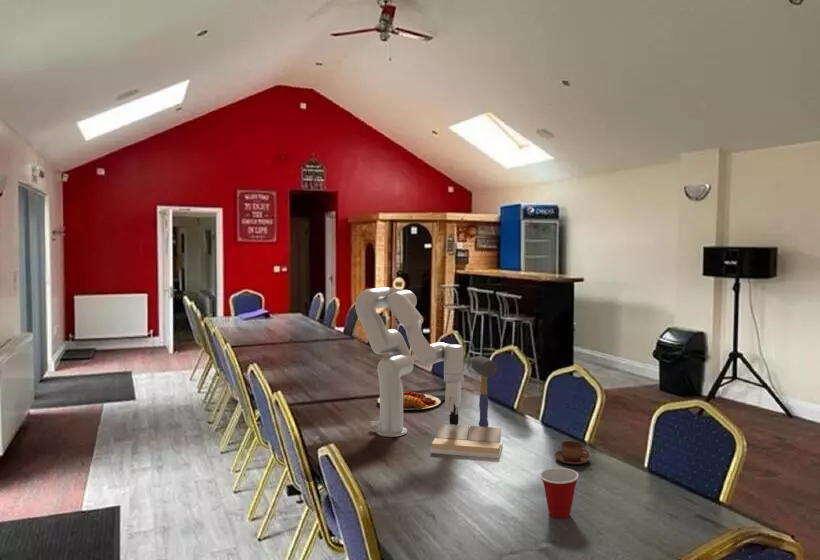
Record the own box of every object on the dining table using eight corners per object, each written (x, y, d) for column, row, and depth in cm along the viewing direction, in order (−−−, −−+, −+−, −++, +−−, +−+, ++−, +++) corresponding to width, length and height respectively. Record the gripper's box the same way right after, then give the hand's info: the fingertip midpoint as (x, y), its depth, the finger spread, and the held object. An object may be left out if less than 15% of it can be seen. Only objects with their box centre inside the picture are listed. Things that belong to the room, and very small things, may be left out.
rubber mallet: (498, 432, 255) (498, 359, 253) (481, 433, 253) (481, 360, 251) (486, 423, 267) (486, 354, 265) (469, 424, 265) (470, 355, 263)
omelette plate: (456, 398, 308) (456, 384, 307) (419, 418, 279) (418, 403, 278) (403, 391, 325) (403, 378, 324) (363, 410, 295) (362, 395, 295)
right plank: (468, 443, 234) (468, 439, 233) (470, 429, 240) (470, 425, 239) (499, 445, 232) (499, 442, 231) (501, 431, 237) (501, 427, 236)
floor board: (431, 453, 230) (431, 443, 229) (438, 441, 243) (438, 432, 243) (499, 458, 224) (499, 448, 224) (502, 445, 238) (502, 436, 237)
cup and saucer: (590, 457, 225) (590, 440, 225) (588, 469, 214) (588, 451, 214) (556, 453, 229) (556, 437, 229) (552, 465, 218) (553, 447, 218)
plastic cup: (534, 507, 183) (535, 467, 182) (570, 505, 184) (571, 465, 183) (545, 523, 172) (546, 481, 171) (583, 522, 173) (584, 480, 172)
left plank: (436, 441, 237) (436, 437, 236) (439, 427, 243) (438, 423, 242) (467, 443, 235) (466, 439, 233) (469, 429, 240) (469, 425, 239)
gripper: (447, 372, 246) (447, 418, 247) (440, 380, 232) (440, 429, 233) (466, 373, 245) (466, 419, 246) (460, 381, 230) (460, 430, 231)
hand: (453, 424), depth 239 cm, fingers closed
